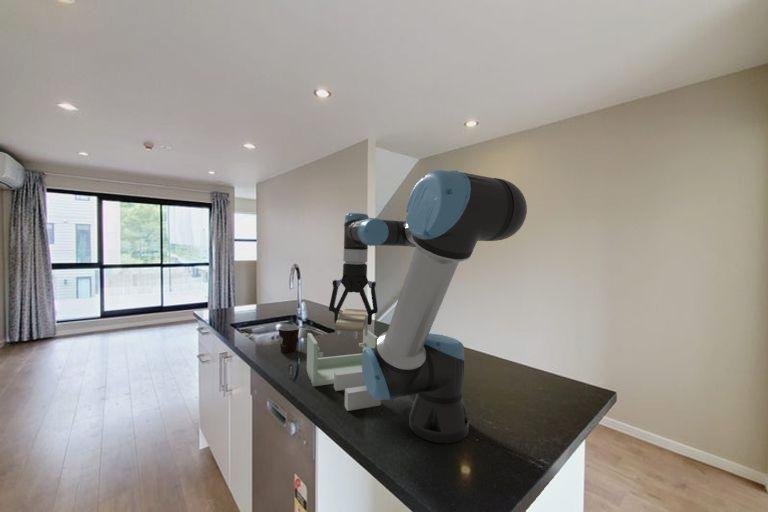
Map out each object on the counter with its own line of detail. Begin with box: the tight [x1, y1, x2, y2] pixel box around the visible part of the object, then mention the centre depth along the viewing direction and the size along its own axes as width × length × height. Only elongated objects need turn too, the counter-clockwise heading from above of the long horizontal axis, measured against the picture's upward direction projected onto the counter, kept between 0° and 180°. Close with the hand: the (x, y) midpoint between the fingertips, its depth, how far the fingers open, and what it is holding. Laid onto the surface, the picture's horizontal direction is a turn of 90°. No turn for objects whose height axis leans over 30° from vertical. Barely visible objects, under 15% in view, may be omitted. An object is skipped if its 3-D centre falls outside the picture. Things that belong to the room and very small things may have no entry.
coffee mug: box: [278, 324, 300, 354], centre depth 136 cm, size 12×9×10 cm
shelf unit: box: [306, 328, 379, 387], centre depth 114 cm, size 13×22×14 cm, turn 113°
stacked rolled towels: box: [335, 308, 367, 333], centre depth 102 cm, size 18×8×2 cm, turn 178°
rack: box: [333, 368, 382, 412], centre depth 98 cm, size 16×10×5 cm, turn 23°
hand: (352, 333), depth 102 cm, fingers closed on stacked rolled towels, 8 cm apart
